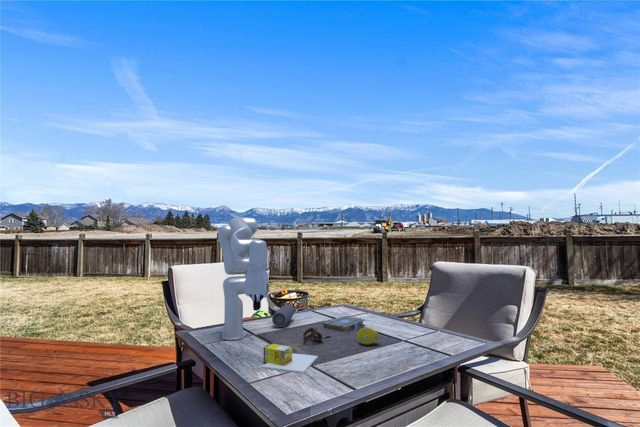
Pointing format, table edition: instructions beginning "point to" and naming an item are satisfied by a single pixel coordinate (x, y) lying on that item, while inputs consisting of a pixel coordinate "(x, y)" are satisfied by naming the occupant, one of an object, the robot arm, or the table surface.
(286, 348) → the supplement box
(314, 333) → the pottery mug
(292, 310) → the bluetooth speaker
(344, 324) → the book
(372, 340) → the lemon
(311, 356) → the flat white board
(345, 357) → the table surface
